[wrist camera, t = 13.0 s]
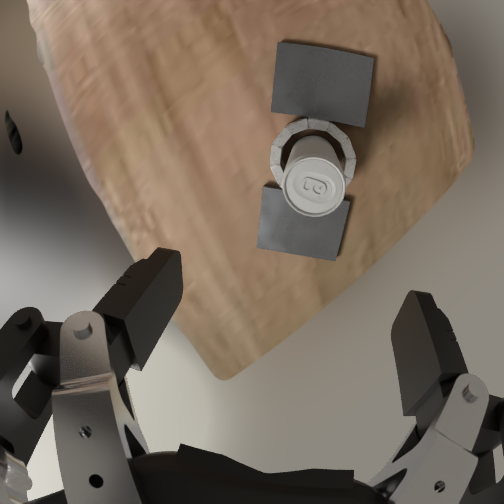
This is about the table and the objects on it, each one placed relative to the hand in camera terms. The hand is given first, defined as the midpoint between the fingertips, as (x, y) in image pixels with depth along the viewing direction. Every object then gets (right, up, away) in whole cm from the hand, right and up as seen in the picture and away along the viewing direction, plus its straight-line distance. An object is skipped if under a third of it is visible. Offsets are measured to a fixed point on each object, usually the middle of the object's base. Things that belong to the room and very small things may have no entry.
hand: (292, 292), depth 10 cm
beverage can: (+5, +12, +21) cm, 25 cm away
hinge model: (+5, +12, +21) cm, 24 cm away
